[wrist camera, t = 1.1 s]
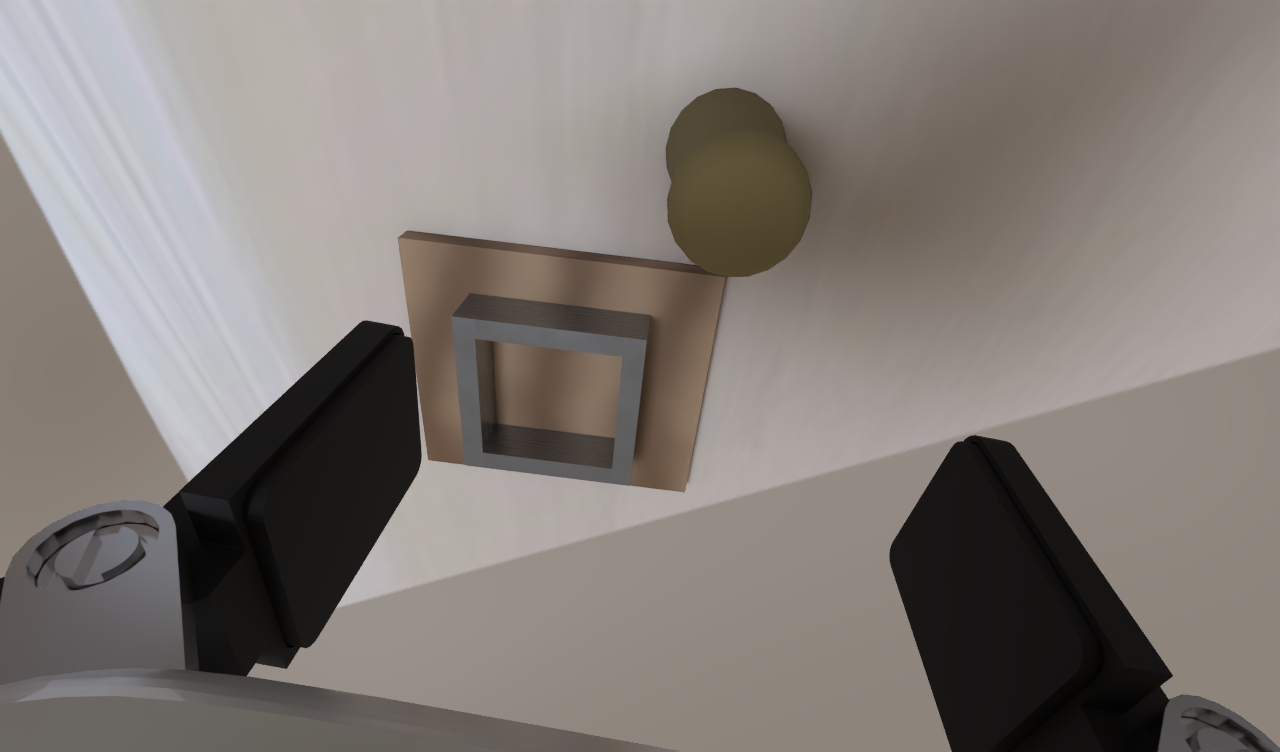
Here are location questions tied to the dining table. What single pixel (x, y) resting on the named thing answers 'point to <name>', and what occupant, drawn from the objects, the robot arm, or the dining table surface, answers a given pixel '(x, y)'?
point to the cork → (734, 184)
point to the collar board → (561, 379)
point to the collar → (558, 330)
